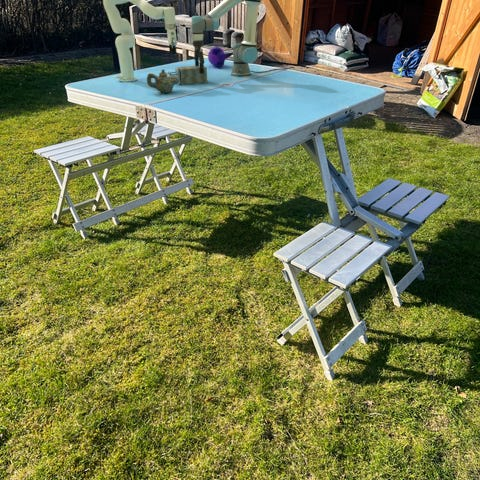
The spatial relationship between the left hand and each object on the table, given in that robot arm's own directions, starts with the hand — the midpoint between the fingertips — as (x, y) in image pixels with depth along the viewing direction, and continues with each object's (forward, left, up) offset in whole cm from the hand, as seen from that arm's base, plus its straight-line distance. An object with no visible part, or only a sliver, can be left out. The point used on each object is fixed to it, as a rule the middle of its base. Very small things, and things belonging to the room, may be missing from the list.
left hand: (173, 53), depth 322 cm
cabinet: (+11, -8, -20) cm, 24 cm away
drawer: (+5, -7, -19) cm, 21 cm away
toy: (+55, +42, -20) cm, 73 cm away
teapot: (-19, -30, -20) cm, 40 cm away
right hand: (+16, -9, -13) cm, 23 cm away
